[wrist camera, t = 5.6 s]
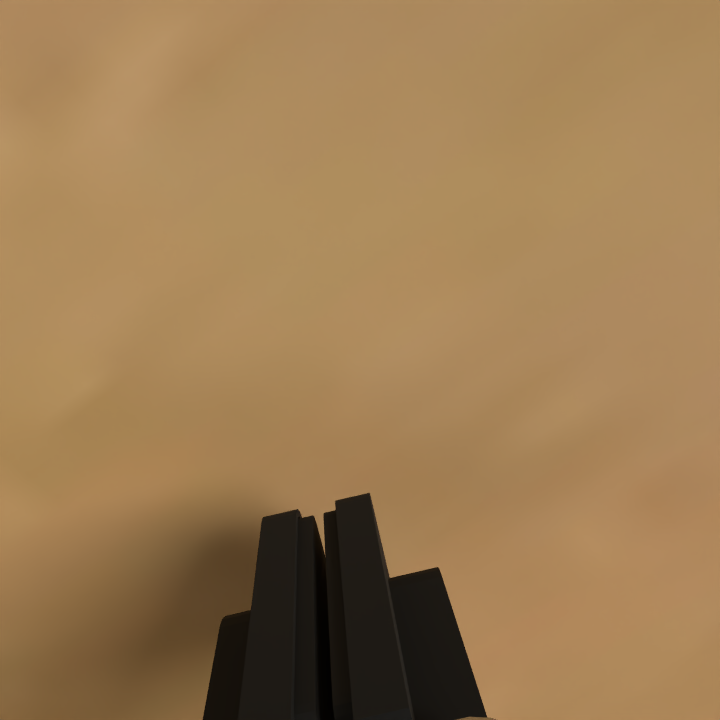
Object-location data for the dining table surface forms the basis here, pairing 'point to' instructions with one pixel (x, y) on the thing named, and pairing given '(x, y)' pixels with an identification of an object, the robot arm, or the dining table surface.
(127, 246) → the dining table surface
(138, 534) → the dining table surface
